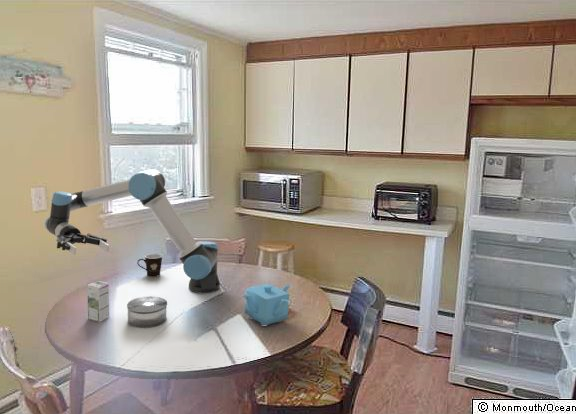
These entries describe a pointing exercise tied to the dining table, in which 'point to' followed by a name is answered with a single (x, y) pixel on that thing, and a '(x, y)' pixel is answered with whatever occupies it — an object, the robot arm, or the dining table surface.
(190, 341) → the dining table surface
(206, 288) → the robot arm
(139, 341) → the dining table surface
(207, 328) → the dining table surface
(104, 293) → the syrup box
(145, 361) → the dining table surface
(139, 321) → the cookie tin
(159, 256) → the coffee mug
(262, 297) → the teakettle
